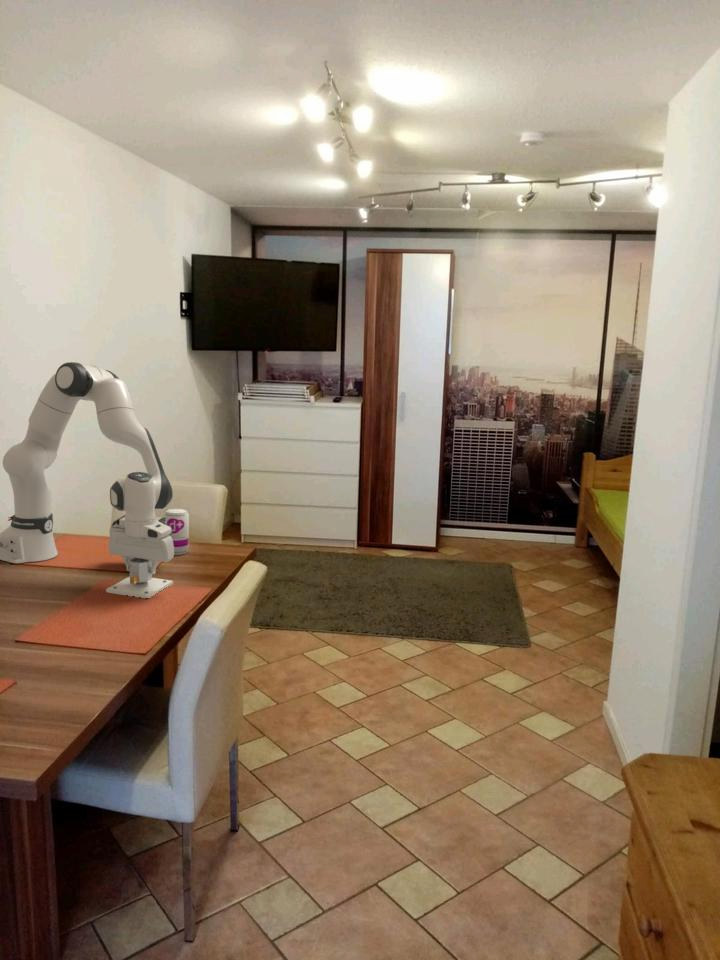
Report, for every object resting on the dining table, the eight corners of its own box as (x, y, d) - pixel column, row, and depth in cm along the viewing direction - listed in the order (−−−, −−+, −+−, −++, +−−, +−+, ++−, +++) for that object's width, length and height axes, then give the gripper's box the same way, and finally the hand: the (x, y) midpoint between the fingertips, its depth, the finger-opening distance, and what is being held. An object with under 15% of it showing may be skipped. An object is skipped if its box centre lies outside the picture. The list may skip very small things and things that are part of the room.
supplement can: (185, 556, 252) (185, 514, 249) (161, 555, 252) (161, 513, 249) (191, 549, 260) (191, 508, 257) (168, 548, 260) (168, 507, 257)
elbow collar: (137, 574, 223) (137, 555, 221) (155, 576, 221) (155, 557, 220) (123, 582, 215) (122, 563, 214) (141, 585, 214) (140, 565, 213)
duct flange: (106, 592, 215) (105, 569, 213) (132, 577, 228) (132, 556, 227) (148, 599, 211) (148, 576, 210) (173, 583, 225) (173, 562, 223)
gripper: (103, 526, 216) (104, 570, 218) (165, 533, 211) (165, 579, 213) (115, 521, 222) (116, 564, 224) (176, 528, 217) (176, 572, 219)
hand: (141, 571), depth 219 cm, fingers closed on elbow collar, 6 cm apart
